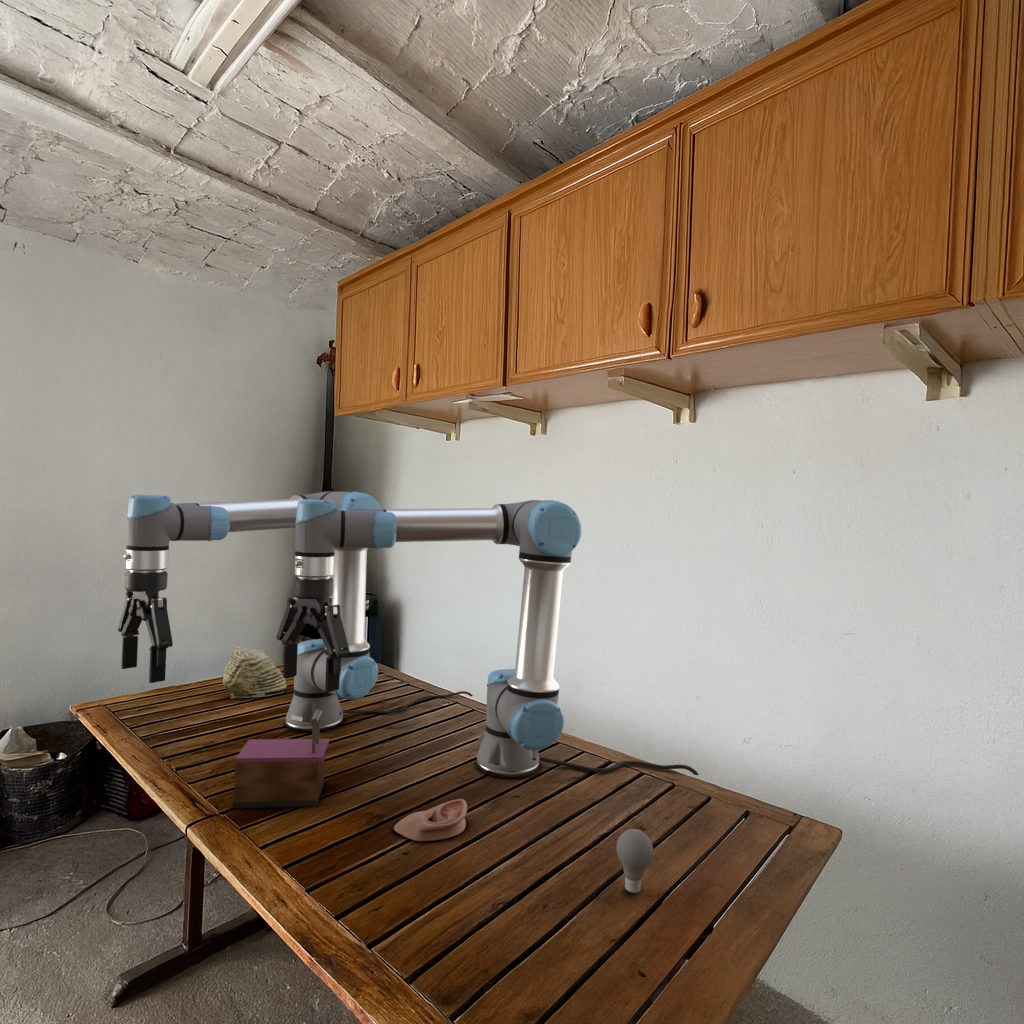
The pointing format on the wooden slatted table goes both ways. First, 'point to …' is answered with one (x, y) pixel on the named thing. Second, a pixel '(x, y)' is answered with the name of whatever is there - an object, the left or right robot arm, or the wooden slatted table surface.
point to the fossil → (252, 674)
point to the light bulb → (634, 857)
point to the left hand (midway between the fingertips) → (142, 674)
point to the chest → (278, 784)
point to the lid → (286, 748)
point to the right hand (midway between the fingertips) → (310, 683)
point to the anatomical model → (434, 822)
